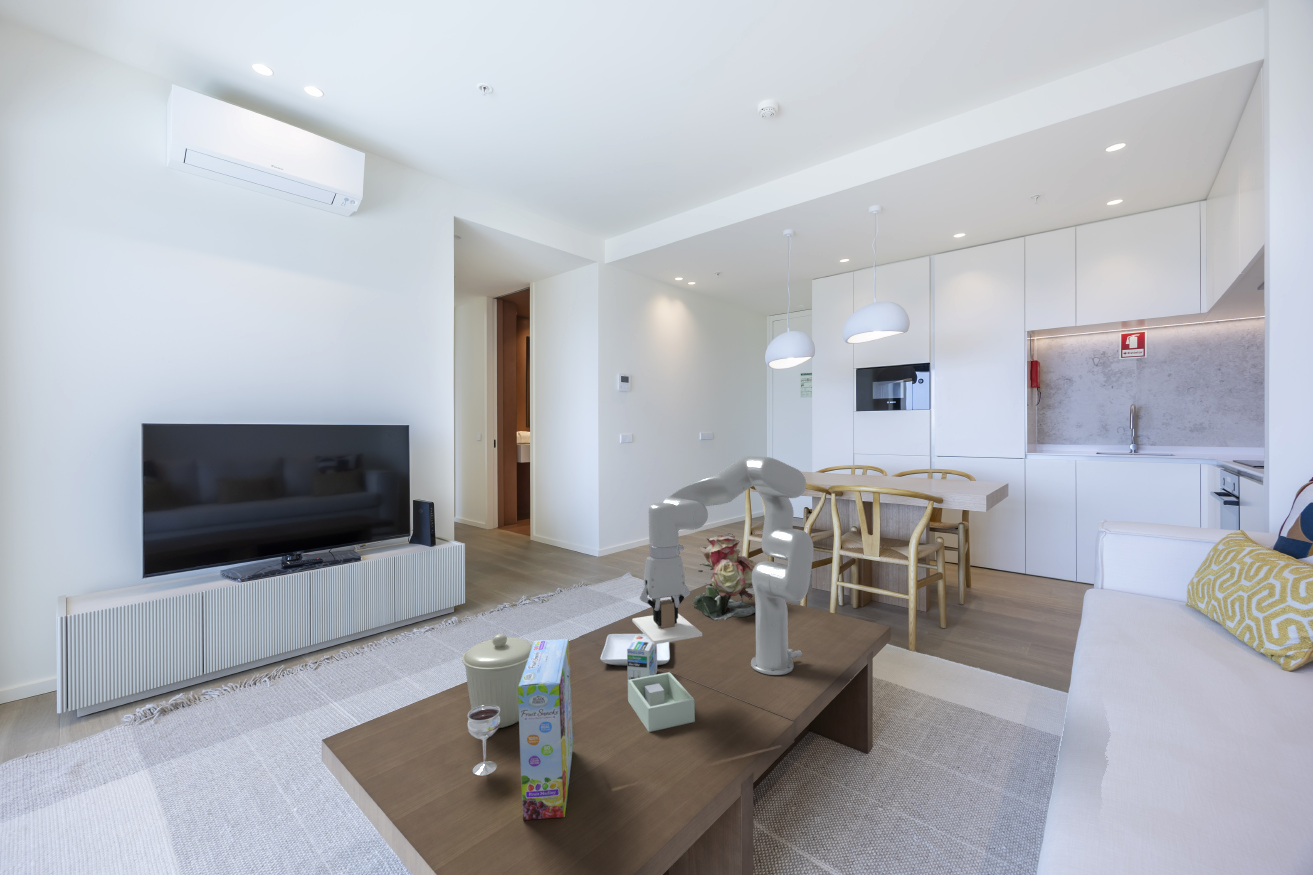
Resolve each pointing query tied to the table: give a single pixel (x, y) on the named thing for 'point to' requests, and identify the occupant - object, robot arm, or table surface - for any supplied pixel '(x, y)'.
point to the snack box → (545, 730)
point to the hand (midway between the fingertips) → (665, 622)
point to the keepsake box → (664, 715)
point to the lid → (666, 626)
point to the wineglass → (484, 732)
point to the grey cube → (654, 694)
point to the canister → (497, 674)
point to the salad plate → (619, 644)
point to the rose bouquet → (726, 579)
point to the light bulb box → (641, 658)
